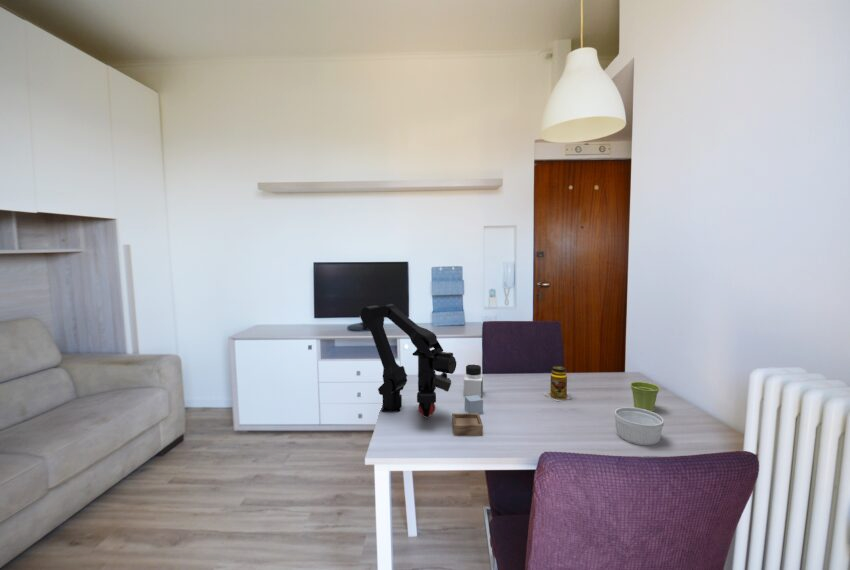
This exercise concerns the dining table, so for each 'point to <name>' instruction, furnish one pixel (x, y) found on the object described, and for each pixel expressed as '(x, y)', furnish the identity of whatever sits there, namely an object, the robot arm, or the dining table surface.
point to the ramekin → (638, 425)
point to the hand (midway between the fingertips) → (426, 412)
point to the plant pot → (644, 395)
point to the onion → (432, 409)
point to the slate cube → (473, 404)
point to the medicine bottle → (473, 381)
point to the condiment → (558, 384)
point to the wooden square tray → (467, 424)
